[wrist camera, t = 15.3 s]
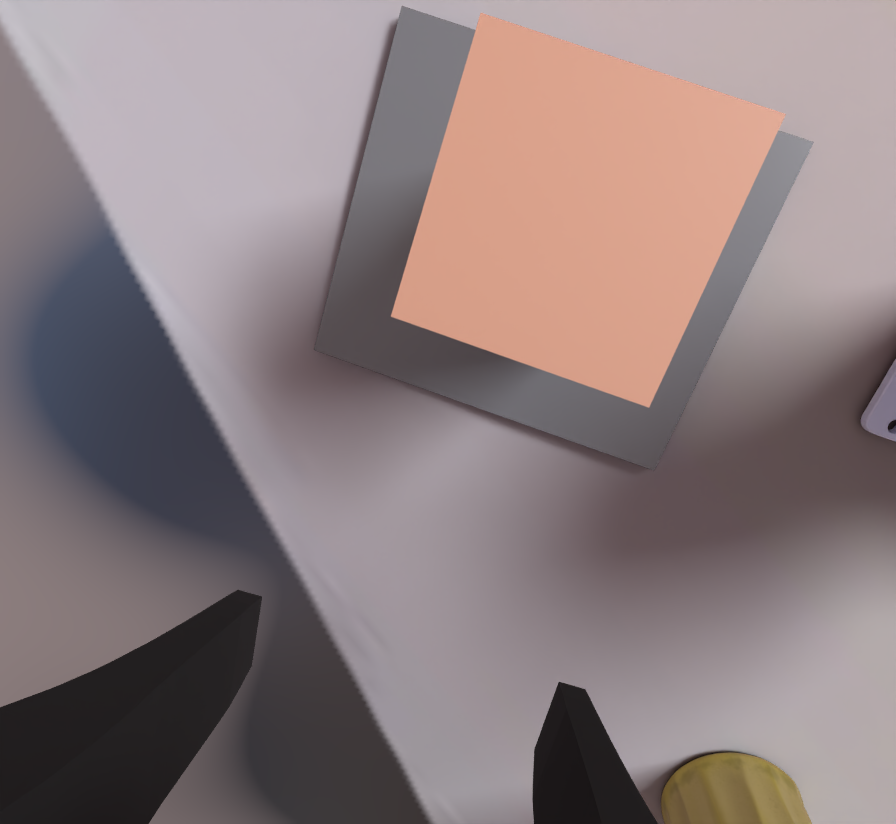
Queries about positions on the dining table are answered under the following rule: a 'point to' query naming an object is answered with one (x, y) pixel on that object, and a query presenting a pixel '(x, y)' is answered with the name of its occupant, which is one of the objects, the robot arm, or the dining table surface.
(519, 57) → the terracotta block
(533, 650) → the dining table surface
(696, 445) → the dining table surface
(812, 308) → the dining table surface
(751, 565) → the dining table surface
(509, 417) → the baseplate
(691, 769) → the vase
